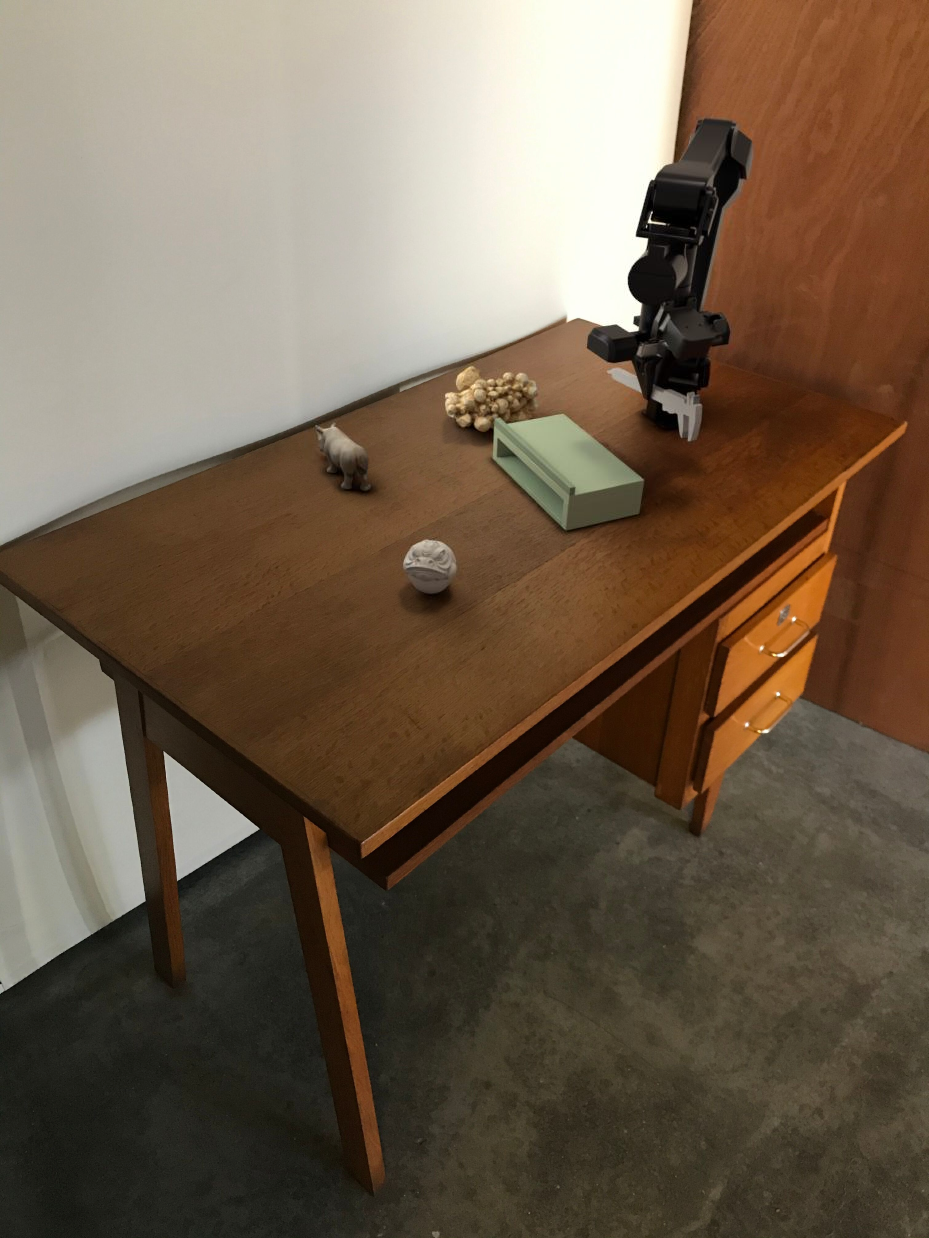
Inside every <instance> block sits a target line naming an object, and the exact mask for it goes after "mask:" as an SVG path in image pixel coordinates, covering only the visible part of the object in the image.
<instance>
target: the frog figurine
mask: <svg viewBox="0 0 929 1238" xmlns="http://www.w3.org/2000/svg"><path fill="white" fill-rule="evenodd" d="M402 569H403V571H404V573H405V574H407V579H408V581H409V582H410V583H411V584H412V585H413V586H414V588H416V589H417V591H419V592H422V593H424V594H430V595H433V594H438V593H440V592H442V591H443V590H445V589H446V588H447V587H448V586H449V585H450V584H451V581H452V579H454V577H455V576H456V574H457V569H458V566H457V559H456V556H455V554H454V552H453V551H452V549H451V548H450V547H449V546H448V545H446V544H445V543H444V542H442V541H440V540H439V541H438V540H435V539H433V540H430V539H423V540H422V541H419V542H417V543H415V544H413V545H412V546H411V547H410V548H409V550H408V552H407V553H406V555H405V558H404V560H403V563H402Z"/></svg>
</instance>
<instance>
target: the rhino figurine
mask: <svg viewBox="0 0 929 1238" xmlns="http://www.w3.org/2000/svg"><path fill="white" fill-rule="evenodd" d="M315 431H316V435H317V439H318V449H319V451H320V452H321V453H324V454H325V457H326V459H327V461H328V463H329V466H328V467H327V469H326V472H327V473H330V474H334V473H337V472H338V468H340V469H341V471H342V472H343V474H344V481H342V483H341V486H340V487H341V489H342V490H351V489H352V488H353V484H352V482H353V479H354V473H355V472H356V470H357V472H358V474H359V477H360V481H361V484H360V485H359V489H360V490H361V491H363V492H367V491H369V490H371V484H370V483H369V477H368V470H369V463H370V462H369V461H370V460H369V456H368V454H367V452H366V449H364V448H363V447H362V446H361V445H359V444H357V443H356V442H354V440H352V439H351V438H350V437H349V436H348V435H347V434H346V433H344V432H343V431H342V430H341V429H339V428H338V427H337V424H336V422H332V423H331V425H330V427H328V428H322V427H320V426H318V425H317V424H315Z"/></svg>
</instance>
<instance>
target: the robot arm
mask: <svg viewBox="0 0 929 1238" xmlns="http://www.w3.org/2000/svg"><path fill="white" fill-rule="evenodd" d="M753 161H754V143H753V140H752V139H751V138H749V137H748V136H747V135H746V134H745V133H744V132H742V131H741V130H740V129H739V123H738V122H735V121H734V120H733V119H729V118H728V119H727V118H719V117H718V118H717V117H709V116H708V117H707V116H705V117H703V118H699V119H698V121H697V123H696V126H695V129H694V131H693V132H691V134H690V137H689V142H688V145H687V147H686V149H685V150H684V152H683V154H682V155H681V157H680V159H679V160H678V162H672V163H668V164H665V165H663V167H661V168H660V170H659V171H658V172H657V173H656V175H655V177H654V179H650V181H649V182H648V186H647V189H646V192H645V196H644V200H643V205H642V208H641V212H640V216H639V218H638V219H639V220H638V224H637V227H636V231H635V238H641V239H646V240H647V242H646V248H645V250H644V252H643V253H642V254H641V255H640V257H638V258H637V260H635V262H634V263H633V264H632V265H631V267H630V269H629V271H628V274H627V287H628V290H629V292H630V294H631V295H632V298H634V300H635V301H637V302H638V303H640V304H641V307H640V314H638V315H634V316H633V321H632V324H633V325H634V326H636V327H637V328H638V330H634V331H629V330H626V329H625V328H623V327H622V326H620V325H618V324H617V323H615V324H609V325H602V326H595V327H593V328H592V329H591V330H590V331H589V333H588V335H587V339H586V340H587V341H586V349H587V350H588V351H590V352H591V353H593V354H594V355H596V356H597V357H599V358H600V359H601V360H603V361H604V362H606V363H608V364H618V363H619V364H620V363H624V362H631V364H632V366H633V369H634V372H635V376H637V379H638V382H639V385H640V388H641V392H642V393H641V395H642V397H643V399H644V400H646V401H647V402H646V408H645V409H642V410H641V414H642V415H643V416H645V418H647V419H648V420H649V421H651V422H652V423H654V424H655V425H657V426H658V427H659V428H661V429H662V430H670V429H677V428H679V423H678V414H677V413H668V411H664V410H663V404H662V403H660V402H658V401H656V400H654V399H652V398H651V394H652V390H653V384H654V385H656V386H658V387H660V388H662V389H664V390H668V389H671V390H673V391H675V392H678V393H680V394H682V395H684V396H686V397H687V393H690V392H694V393H695V395H698V391H700V392H701V390H702V389H705V388H708V387H709V386H710V385H709V383H710V380H711V372H712V371H711V370H712V361H711V359H710V350H711V348H714V347H721V346H726V345H729V344H730V339H731V333H732V328H731V325H730V323H729V321H728V318H727V317H726V316H725V314H724V313H723V312H722V311H721V312H720V311H719V312H712V311H709V310H704V307H705V304H706V299H707V294H708V289H709V285H710V280H711V277H712V272H713V267H714V263H715V258H716V253H717V249H718V245H719V240H720V235H721V231H722V226H723V222H724V218H725V214H726V212H727V210H728V209H729V208H730V207H731V205H732V204H733V203H734V202H735V201H736V200H737V199H738V198H739V197H740V195H741V193H742V191H743V186H744V181H745V180H746V181H748V179H749V177H750V176H751V175H750V174H751V170H752V166H753ZM649 221H651V222H649Z"/></svg>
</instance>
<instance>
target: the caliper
mask: <svg viewBox="0 0 929 1238" xmlns="http://www.w3.org/2000/svg"><path fill="white" fill-rule="evenodd" d="M606 372H607V373H608V374H609V375H611V379H612V380H614V381H616V382H618V383H620V384H622V385H624V386H626V387H628V388H629V389H630V388H631V389H633V390H634V391H637V392H639V393H641V394H642V392H641V388H640V385H639V382H638V379H637V375H636V374H633V373H632V372H630V371H627V370H625V369H623V368H620V367H613V368H612V369H607V370H606ZM651 398H652V399H654V400H656V401H658V402H660V403H662V404H663V410H664V411H668V413H677V414H678V423H679V427H678V431H679V432H678V433H679V436H680V438H681V439H685V438H687V442H692V441H697V440H698V436H699V433H700V430H701V429H700V428H701V424H702V418H703V417H702V416H703V404H701V403H700V402H701V401H700V400H701V394H697V395H695V393H694V392H690V393H687V397H686V396H684V395H682V394H680V393H678V392H675V391H673V390H671V389H668V390H664V389H662V388H660V387H658V386H656V385H654V384H653V390H652V394H651Z"/></svg>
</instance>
